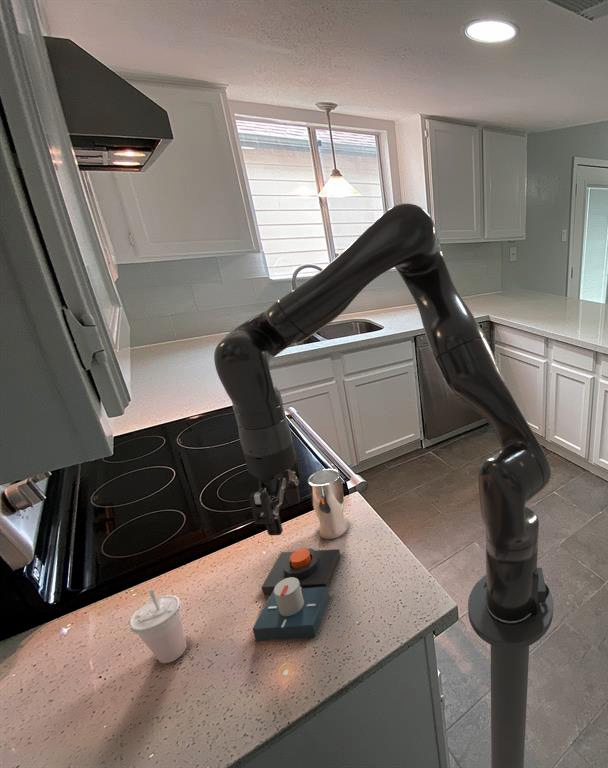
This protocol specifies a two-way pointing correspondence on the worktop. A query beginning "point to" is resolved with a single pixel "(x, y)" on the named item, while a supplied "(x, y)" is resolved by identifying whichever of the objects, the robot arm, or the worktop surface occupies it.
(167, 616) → the smoothie
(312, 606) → the knob panel
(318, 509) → the silver metal cup
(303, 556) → the button
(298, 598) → the dial
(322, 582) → the orange push button panel
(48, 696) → the worktop surface
